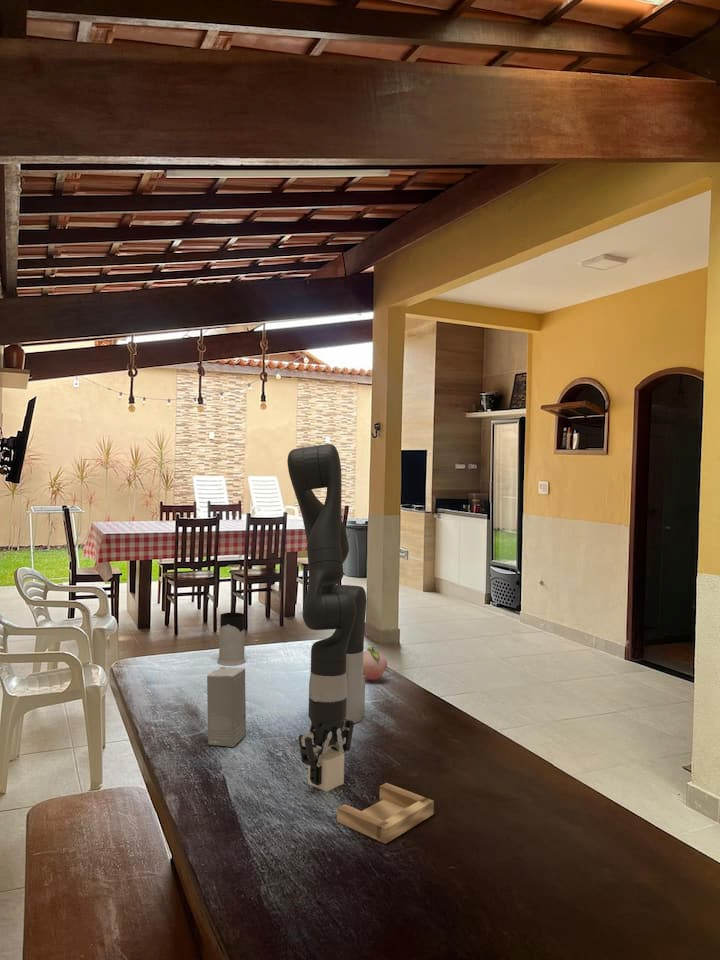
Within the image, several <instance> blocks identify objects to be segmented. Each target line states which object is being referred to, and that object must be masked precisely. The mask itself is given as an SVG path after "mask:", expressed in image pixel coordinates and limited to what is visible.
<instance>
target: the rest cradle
mask: <svg viewBox="0 0 720 960" xmlns="http://www.w3.org/2000/svg"><path fill="white" fill-rule="evenodd" d="M378 798H379V799H378V800H379V801H377V802H375V803H374V804H372V805H370V806H369V807H367V808H364V809H363V810H360V809H357V808H355V807H352V806H350V805H348V804H345V803H344V804H342V805H340V806H339V807H337V808H336V810H337V811H336V822H337V823H338V824H340V825H343V826H346V827H347V828H350V829H352V830H353V831H356V832H358V833H361V834H363V835H365V836H367V837H369V838H371V839H373V840H376V841H378V842H380V843H382V844H385V845H386V844H388V843H389V842H391V841H393V840H394V839H396V838H398V837H400V836H401V835H403V834H405V833H406V832H408V831H409V830H411V829H413V828H414V827H415V826H417V825H418V824H421V823H422V822H423V821H425V820H426V819H428V818H430V817H431V816H433V815H434V812H435V811H434V806H435V804H434V803H435V800H433V799H430V798H427V797H425V796H423V795H419V794H417V793H414V792H412V791H410V790H409V791H408V790H407V789H403V788H401V787H398V786H396V785H393V784H391V783H388V782H384V783H383V784H381V785H379V797H378Z"/></svg>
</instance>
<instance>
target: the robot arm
mask: <svg viewBox="0 0 720 960" xmlns="http://www.w3.org/2000/svg"><path fill="white" fill-rule="evenodd" d="M286 462H287V470H288V475H289V478H290V481H291V485H292V488H293V491H294V494H295V497H296V500H297V504H298V507H299V509H300V512H301V517H302V522H303V526H304V532H305V536H306V542H307V543H306V547H307V548H306V551H307V552H306V554H307V565H308V567H307V568H308V582H307V589H306V594H305V599H304V603H303V608H302V619H303V622H304V624H305V626H306V627H307V628H308V629H309V630H313V631H323V630H324V631H325V630H328V631H329V630H334V632H333V633H332V635H330V636H329V637H327V638H324V639H320V640H318V641H315V642H313V643H312V645H311V648H310V674H309V675H310V676H309V680H308V681H309V682H308V711H307V712H308V714H307V715H308V718H309V720H310V722H311V723H310V724H311V725H310V728H309V732H307V733H306V734H300V735H299V736H298V744H299V751H300V756H301V763H302V764H303V765H309V766H310V781H311V782H312V783H313V784H315V785H320V784H321V780H322V766H321V763H322V759H323V756H324V755H325V754H326V752H327V748H330V749H333V750H336V751H338V752H341V753H344V754H345V753H346V752H349V751H350V750H351V746H352V745H351V744H352V738H353V733H354V726H355V724H356V723H359V722H361V720H362V719H363V718H364V717H365V714H366V713H365V711H366V709H365V707H366V705H365V703H366V678H364V675H363V652H365V651H364V650H365V649H364V645H365V644H364V643H365V632H366V631H365V629H366V628H365V627H366V615H367V614H366V613H367V593H366V590H365V588H364V587H363V586H360V585H350V584H337V583H338V582H341V580H342V579H343V578H344V563H345V561H346V560H347V557H348V555H349V552H350V545H349V540H348V539H349V538H348V535H347V534H348V533H347V530H346V526H345V524H344V522H343V520H342V485H343V484H342V465H341V459H340V455H339V451H338V449H337V447H336V446H335V445H333V444H330V443H329V444H328V443H327V444H319V445H312V446H310V445H309V446H303V447H298V448H294V449H291V450H290V451H289V452H288V455H287V461H286ZM318 489H326V497H325V500H324V502H322V501H320V500H319V498H318V497H317V496H316V495H315V492H314V491H313V490H318ZM344 741H345V743H344ZM317 746H318V747H320V748H318V747H317ZM316 753H318V756H317V759H315V756H316Z"/></svg>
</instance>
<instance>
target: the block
mask: <svg viewBox="0 0 720 960" xmlns="http://www.w3.org/2000/svg"><path fill="white" fill-rule="evenodd" d="M317 756H318V753H316V756H315V759H317ZM321 766H322V780H321V784H320V785H315V784H313V783H312V782H311V781H310V766H309V765H308V769H307V771H308V773H307V775H308V776H307V778H308V779H307V785H310V786H312V787H315V788H317V789H319V790H322V791H324V792H329V791H330V790H334V789H335V788H338V787H339V786H342V785H344V783H345V752H344V753H341V752H338V751H336V750H333V749H330V747H328V748H327V752H326V754H325V755H324V756H323V759H322V763H321Z"/></svg>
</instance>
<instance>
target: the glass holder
mask: <svg viewBox="0 0 720 960" xmlns="http://www.w3.org/2000/svg"><path fill="white" fill-rule="evenodd" d="M219 619H220V622H219V624H220V625H219V642H218V643H219V644H218V645H219V646H218V647H219V649H218V652H219V653H218V654H219V655H218V660H217V664H218V665H220V666H224V667H225V666H227V667H230V666H231V667H232V666H234V667H235V666H240V665H244V664H246V659H245V645H246V644H245V642H246V641H245V638H246V637H245V635H246V629H245V614H244V613H241V612H224V613H221V614H220V618H219Z"/></svg>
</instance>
